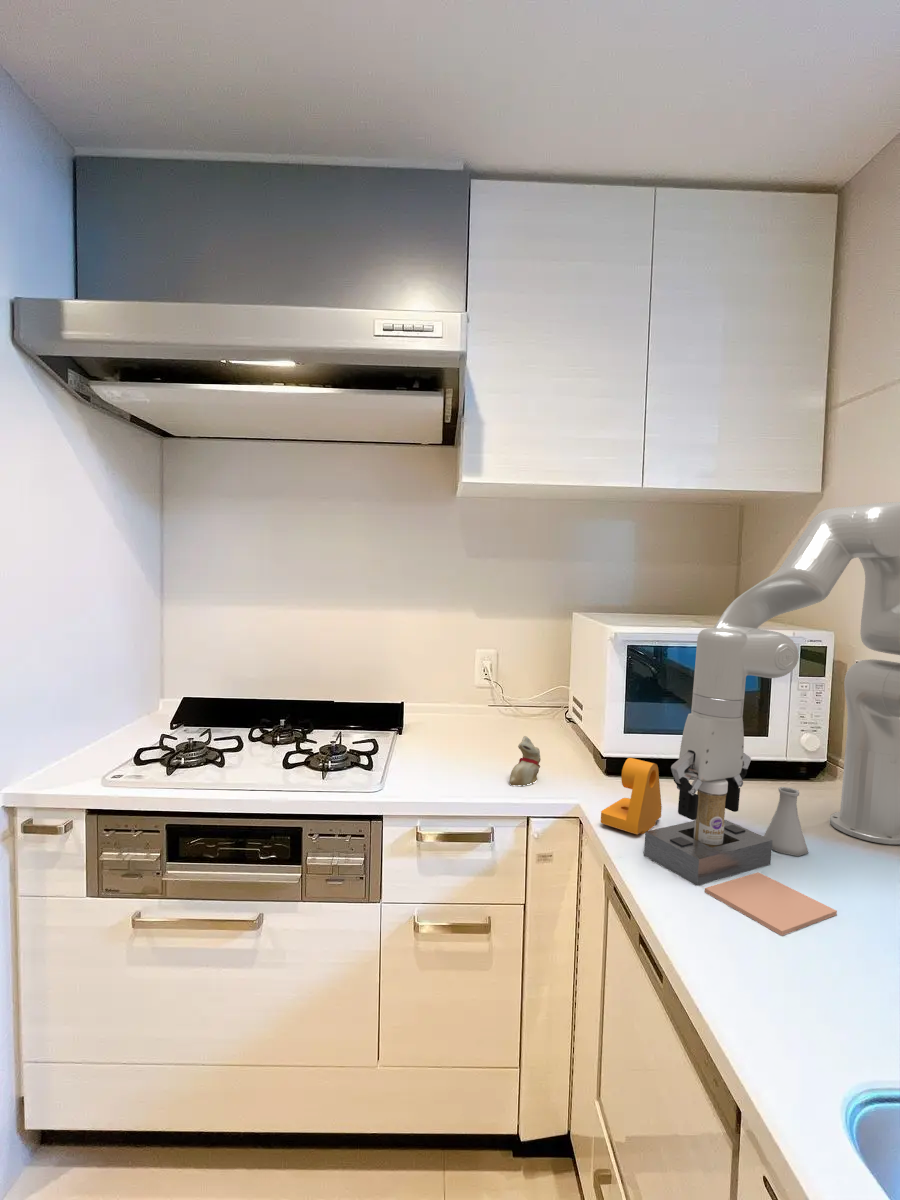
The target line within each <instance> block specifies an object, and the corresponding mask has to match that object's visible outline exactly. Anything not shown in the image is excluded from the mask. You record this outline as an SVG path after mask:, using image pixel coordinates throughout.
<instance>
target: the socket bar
mask: <svg viewBox="0 0 900 1200" xmlns="http://www.w3.org/2000/svg"><path fill="white" fill-rule="evenodd" d="M694 824H695V820H691V821H687V822H682V823H677V824H673V825H669V826H664V827H661V828H656V829H650V830H648V831H645V833H644V843H643V845H644V846H643V857H645V858H647V859H649V860H650V861H652V862H654V863H656V864H658V865H659V866H661V867H663V868H665V869H667V870H669V871H670V872H672V873H673V874H676V875H678V876H679V877H681V878H682V879H684V880H686V881H688V882H690V883H691V884H693V885H695V886H702V885H705V883H706V884H709V883H711V882H716V881H719V880H722V879H725V878H728V877H729V878H730V877H733V876H736V875H739V874H742V873H746V872H749V871H753V870H757V869H760V868H764V867H767V866H770V865H771V864H772V863H771V862H772V840H771V839H769V838H766V837H764V835H762V834H760V833H758V832H755V831H753V830H750V829H749V828H745V827H743V826H741V825H738V824H737V823H734V822H732V821H730V820H727V819H725V818H724V836H723V843H722V845H721V846H717V847H713V848H711V847H709V846H707V845H705V844H703V843H701V842H699V841H697V840H695V839H694Z"/></svg>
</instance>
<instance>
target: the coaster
mask: <svg viewBox="0 0 900 1200" xmlns="http://www.w3.org/2000/svg"><path fill="white" fill-rule="evenodd" d="M704 894H707V895H709V896H711V897H713V898H715V899H717V901H720V902H722V903H723V904H725V905H727V906H728V907H730V908H731V909H734V910H735V911H737V912H739V913H741V914H743V915H744V916H746V917H747V918H749V917H750V918H749V919H751V918H752V920H753V921H755V922H756V921H757V922H756V923H758V924H760V925H762V926H764V927H765V928H767V929H769V930H771V931H773V932H774V933H776V934H778V935H780V936H781V937H783V936H785V935H787V934H790V933H793V932H795V931H798V930H800V929H803V928H806V927H809V926H811V925H814V924H817V923H820V922H822V921H824V920H827V919H829V918H833V917H836V916H837V915H838V914H837V913H838V910H836V909H834V908H833V907H830V906H829V905H827V904H824V903H822V902H820V901H818V900H816V899H814V898H812V897H810V896H808V895H805V894H804V893H802V892H800V891H798V890H796V889H793V888H792V887H789V886H788V885H785V884H784V883H781V882H779V881H778V880H775V879H773V878H772V877H768V876H767V875H765V874H763V873H761V872H758V871H757V872H754V873H750V874H747V875H744V876H740V877H738V878H737V877H736V878H734V879H731V880H728V881H724V882H720V883H717V884H714V885H710V886H707V887H704Z"/></svg>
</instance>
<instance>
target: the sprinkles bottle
mask: <svg viewBox="0 0 900 1200" xmlns="http://www.w3.org/2000/svg"><path fill="white" fill-rule="evenodd" d="M727 791H728V781H727V780H726V779H720V780H714V781H706V782H702V783H701V785H700V787H699V788H698V790H697V791H696V794H697V795H698V809H697V818H696V820H694V821H695V824H694V839H695V840H697V841H699V842H701V843H703V844H705V845H707V846H709V847H711V848H713V847H717V846H721V845H722V843H723V836H724V819H725V814H726V808H725V801H726V793H727Z"/></svg>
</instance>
